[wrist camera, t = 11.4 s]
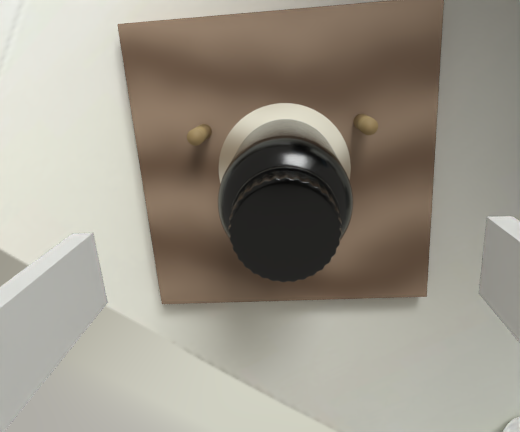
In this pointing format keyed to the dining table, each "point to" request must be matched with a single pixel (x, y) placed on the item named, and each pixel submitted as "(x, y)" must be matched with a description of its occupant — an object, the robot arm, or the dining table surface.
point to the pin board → (295, 108)
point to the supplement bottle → (285, 201)
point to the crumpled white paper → (513, 426)
